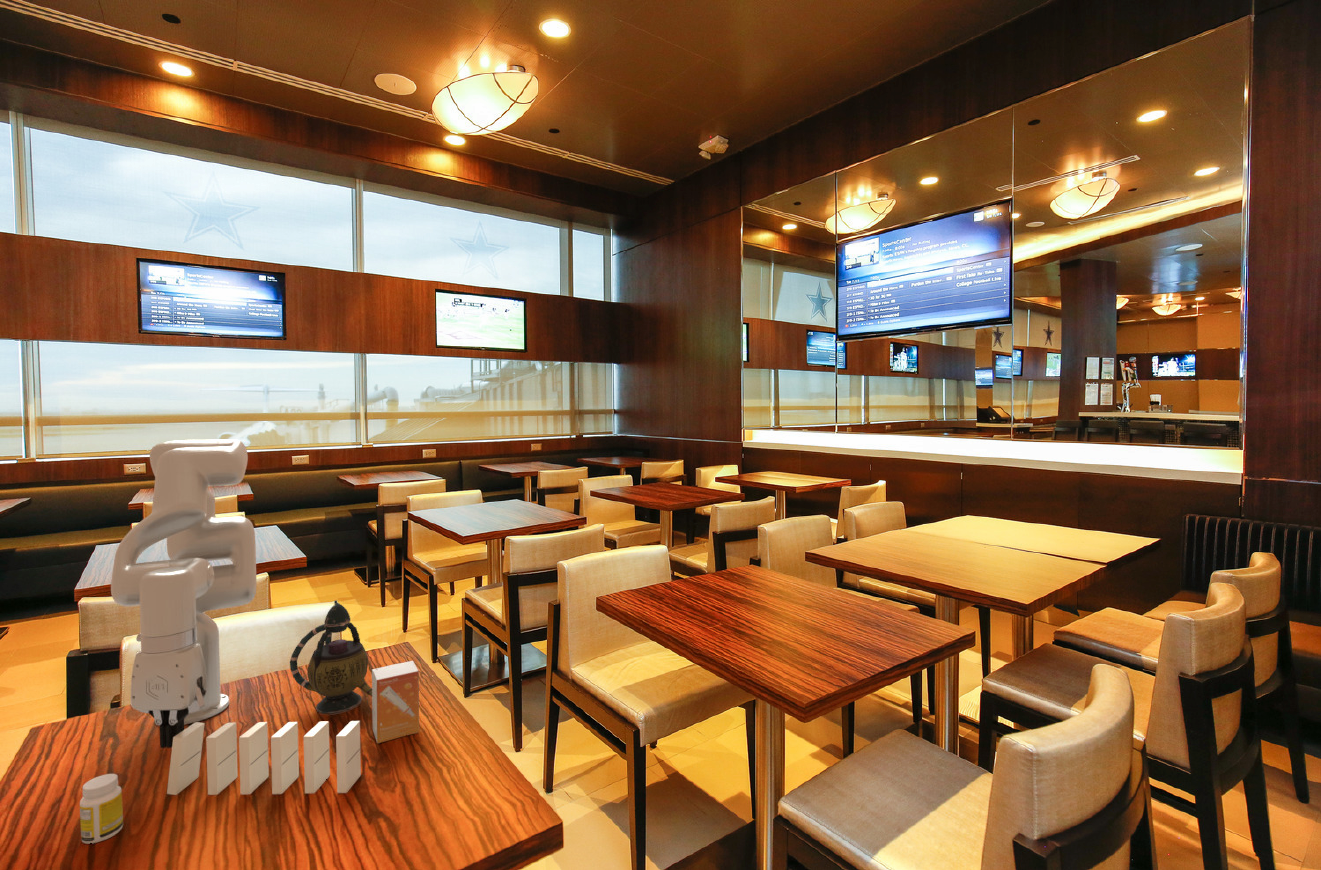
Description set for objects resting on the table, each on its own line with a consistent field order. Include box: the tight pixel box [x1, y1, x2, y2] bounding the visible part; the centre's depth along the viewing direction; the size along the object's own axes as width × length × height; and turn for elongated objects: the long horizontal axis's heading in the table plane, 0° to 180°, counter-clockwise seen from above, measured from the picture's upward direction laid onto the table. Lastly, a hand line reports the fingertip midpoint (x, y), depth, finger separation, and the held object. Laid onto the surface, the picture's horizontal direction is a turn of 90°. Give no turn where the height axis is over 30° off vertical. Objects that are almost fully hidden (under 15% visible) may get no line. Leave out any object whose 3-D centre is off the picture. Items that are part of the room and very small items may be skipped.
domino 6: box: [335, 720, 362, 794], centre depth 104 cm, size 2×5×10 cm, turn 1°
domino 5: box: [303, 720, 331, 794], centre depth 104 cm, size 2×5×10 cm, turn 1°
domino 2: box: [205, 721, 239, 796], centre depth 104 cm, size 2×5×10 cm, turn 1°
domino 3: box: [238, 721, 270, 795], centre depth 104 cm, size 2×5×10 cm, turn 1°
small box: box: [371, 660, 420, 744], centre depth 122 cm, size 8×6×13 cm
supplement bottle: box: [79, 773, 124, 845], centre depth 92 cm, size 5×5×8 cm
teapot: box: [289, 600, 372, 716], centre depth 132 cm, size 12×25×23 cm, turn 70°
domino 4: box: [270, 721, 300, 795], centre depth 104 cm, size 2×5×10 cm, turn 1°
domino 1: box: [166, 721, 206, 796], centre depth 104 cm, size 2×5×10 cm, turn 1°
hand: (172, 743), depth 104 cm, fingers closed
